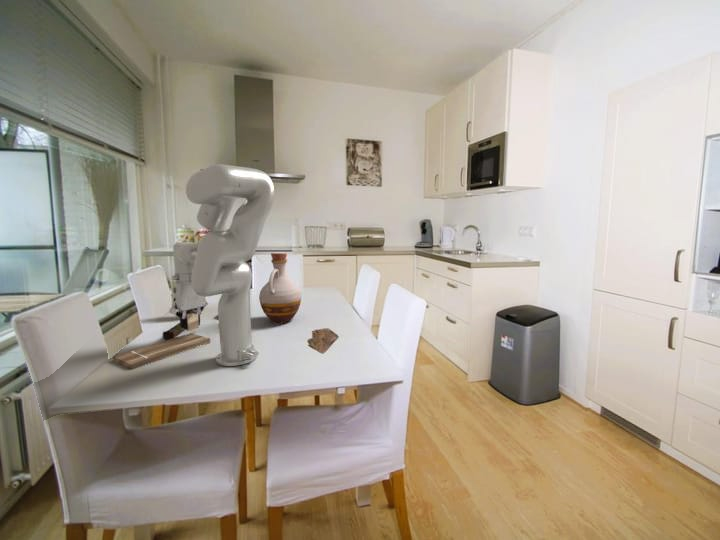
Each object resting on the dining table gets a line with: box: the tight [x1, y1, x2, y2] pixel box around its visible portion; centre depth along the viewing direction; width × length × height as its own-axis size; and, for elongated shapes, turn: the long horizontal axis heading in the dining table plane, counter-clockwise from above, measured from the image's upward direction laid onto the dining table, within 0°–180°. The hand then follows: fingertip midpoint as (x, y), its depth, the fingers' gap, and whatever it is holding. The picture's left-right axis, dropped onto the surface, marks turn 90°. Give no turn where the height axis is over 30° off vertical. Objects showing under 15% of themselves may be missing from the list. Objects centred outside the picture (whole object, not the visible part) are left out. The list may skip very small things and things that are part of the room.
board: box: [112, 332, 211, 370], centre depth 116 cm, size 12×26×2 cm, turn 148°
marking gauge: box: [182, 309, 200, 332], centre depth 123 cm, size 8×4×7 cm, turn 58°
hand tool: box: [162, 322, 185, 341], centre depth 135 cm, size 19×4×5 cm, turn 1°
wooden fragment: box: [307, 327, 340, 355], centre depth 126 cm, size 26×11×1 cm, turn 0°
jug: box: [258, 252, 302, 325], centre depth 146 cm, size 20×18×30 cm
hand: (190, 326), depth 124 cm, fingers closed on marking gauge, 4 cm apart
